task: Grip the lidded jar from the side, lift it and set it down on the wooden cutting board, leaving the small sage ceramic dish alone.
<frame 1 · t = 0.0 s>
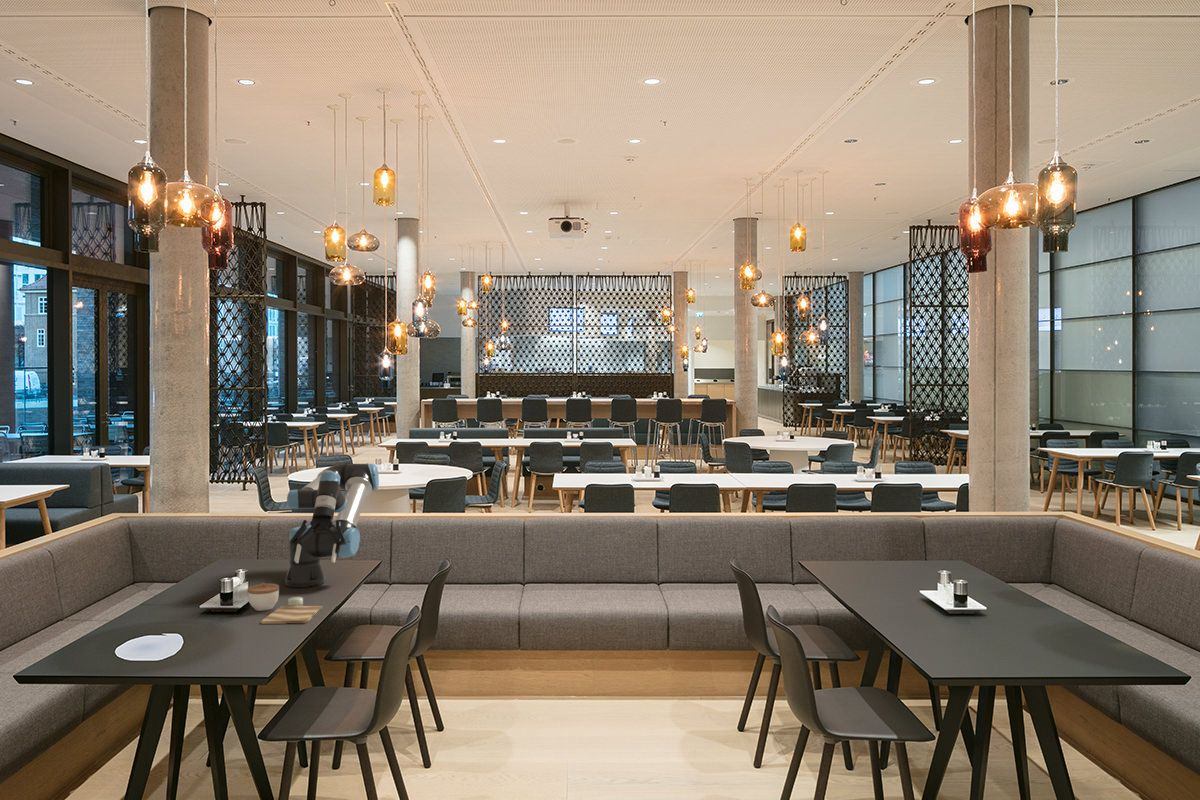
hand: (314, 561, 322), 15 cm above the table, tool tilted 35°, fingers open, 13 cm apart
sage dish: (295, 606, 317), on the table
wooden cutting board: (292, 616, 305), on the table
lidded jar: (263, 608, 315), on the table
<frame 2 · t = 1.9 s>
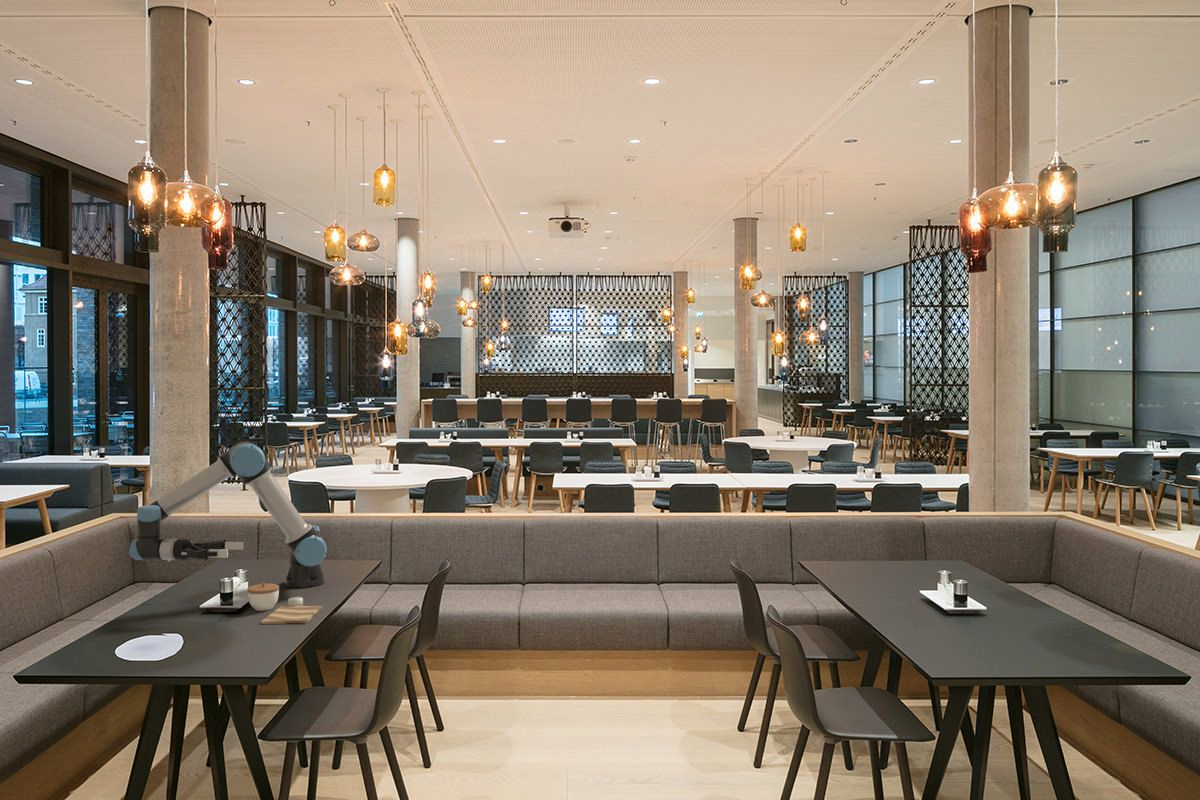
hand: (235, 549, 314), 21 cm above the table, tool horizontal, fingers open, 13 cm apart
nothing on the table moved.
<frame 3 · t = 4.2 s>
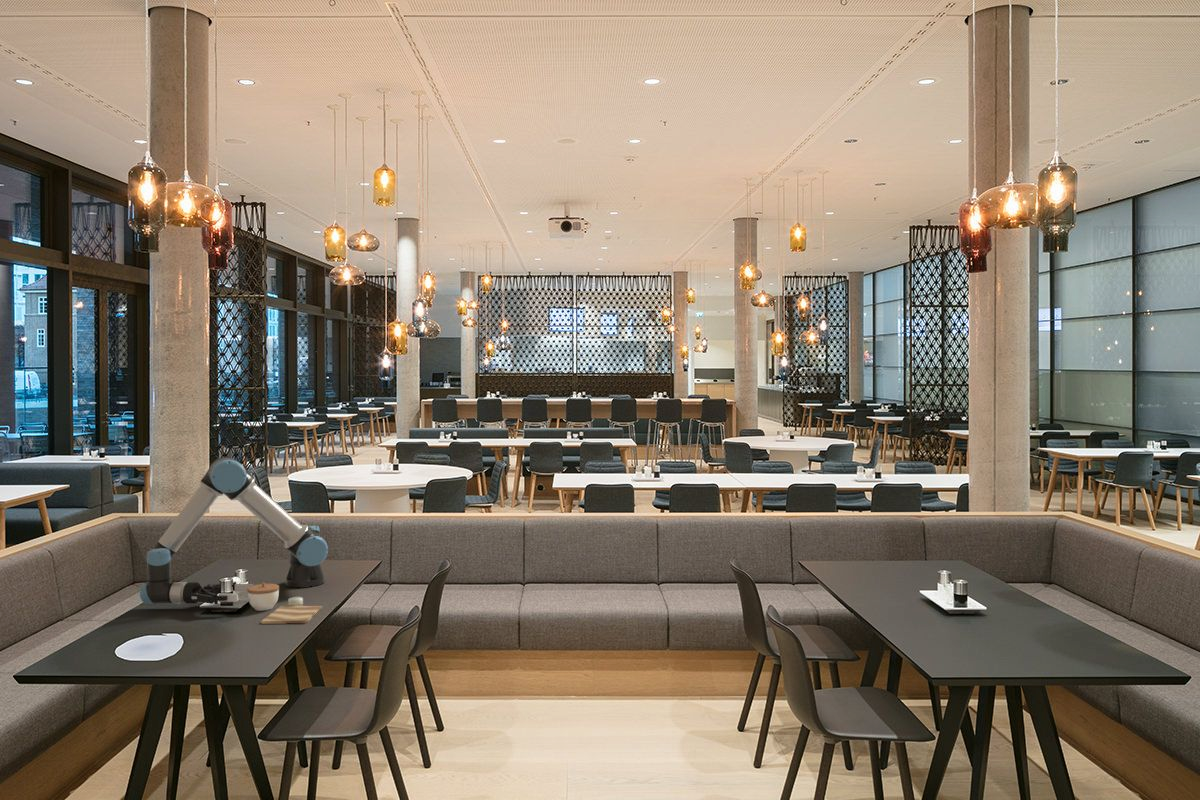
hand: (245, 592, 314), 6 cm above the table, tool horizontal, fingers open, 13 cm apart
nothing on the table moved.
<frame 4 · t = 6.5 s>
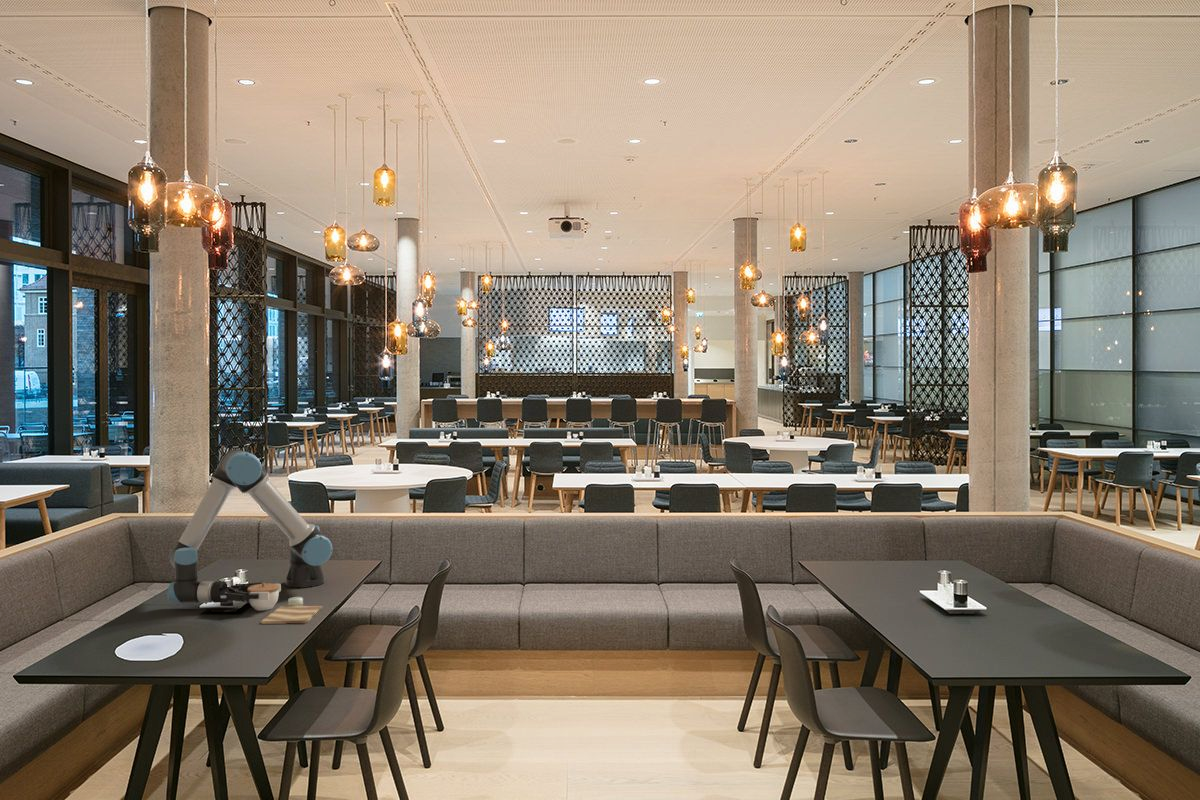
hand: (274, 591, 315), 6 cm above the table, tool horizontal, fingers closed on lidded jar, 11 cm apart
lidded jar: (263, 608, 315), on the table, touching gripper
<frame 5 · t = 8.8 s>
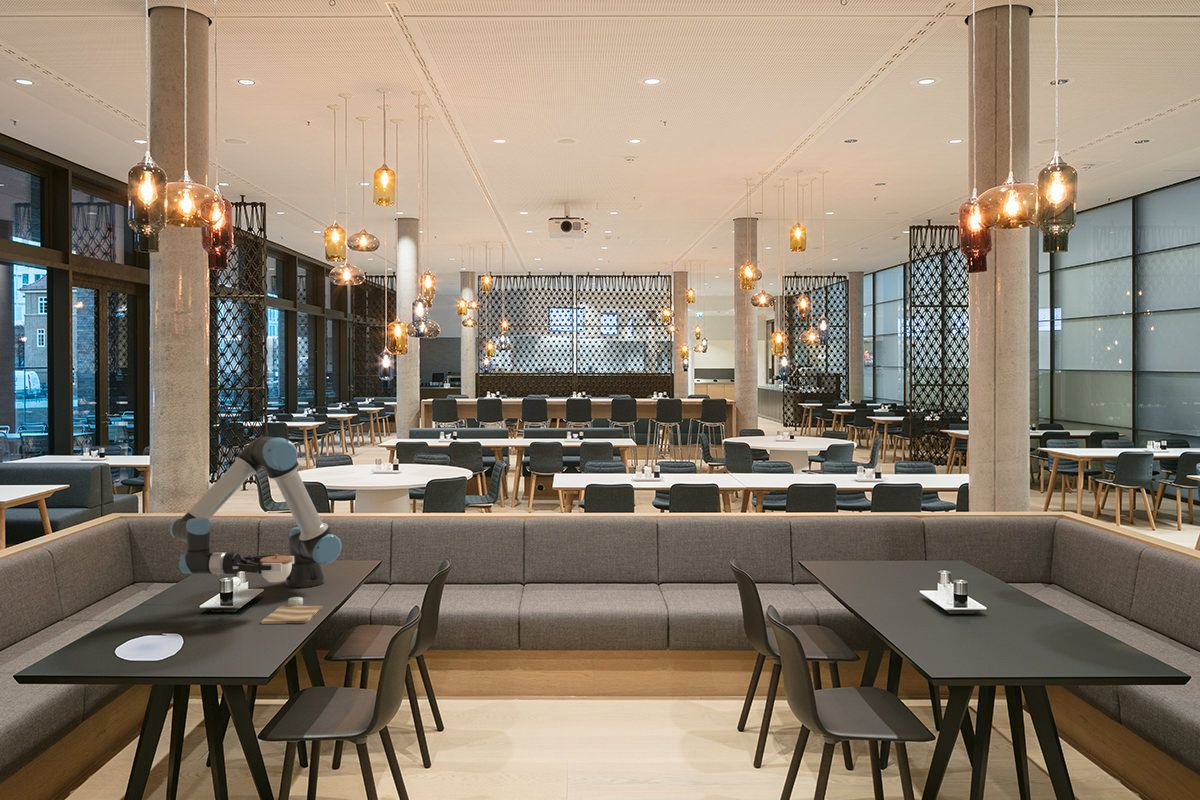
hand: (287, 563, 307), 18 cm above the table, tool horizontal, fingers closed on lidded jar, 11 cm apart
lidded jar: (276, 581, 307), point 12 cm above the table, touching gripper
when the fingers open (8 cm above the table, at t = 11.6 s): lidded jar drops 1 cm, resting on wooden cutting board.
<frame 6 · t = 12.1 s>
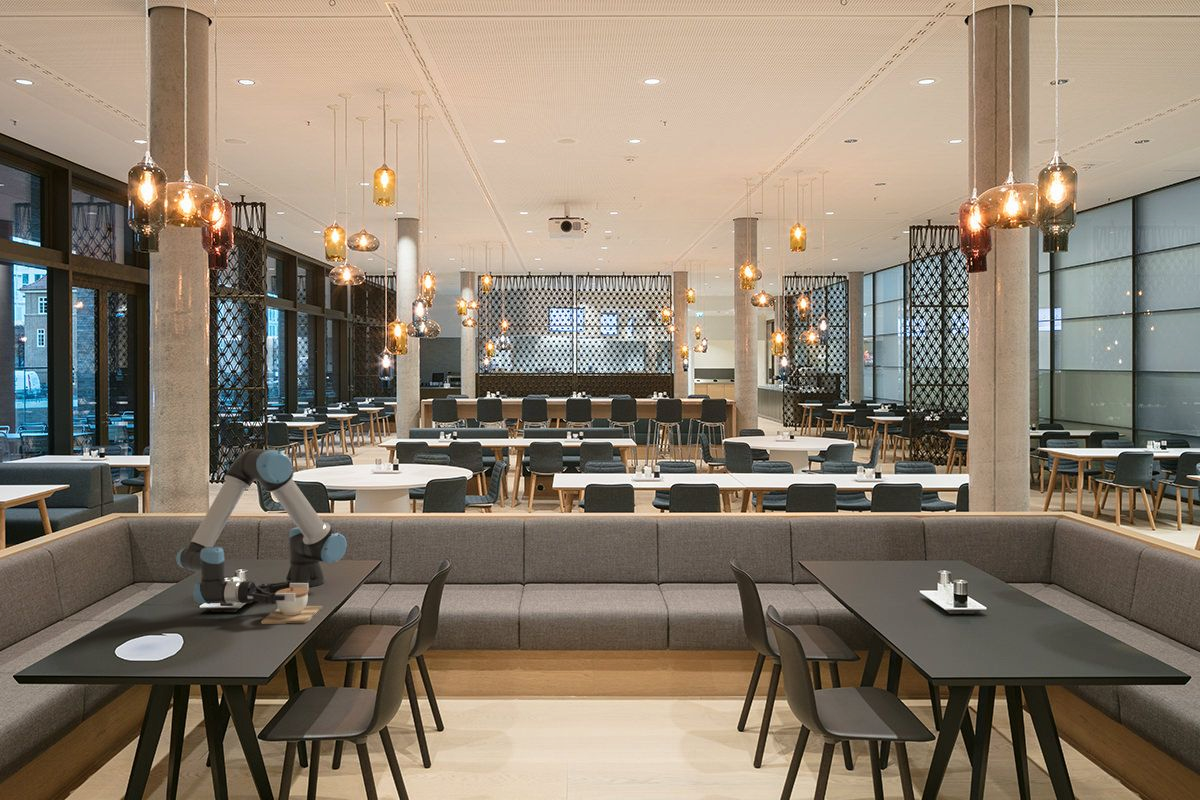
hand: (301, 591, 305), 8 cm above the table, tool horizontal, fingers open, 13 cm apart
lidded jar: (292, 613, 305), point 1 cm above the table, touching wooden cutting board
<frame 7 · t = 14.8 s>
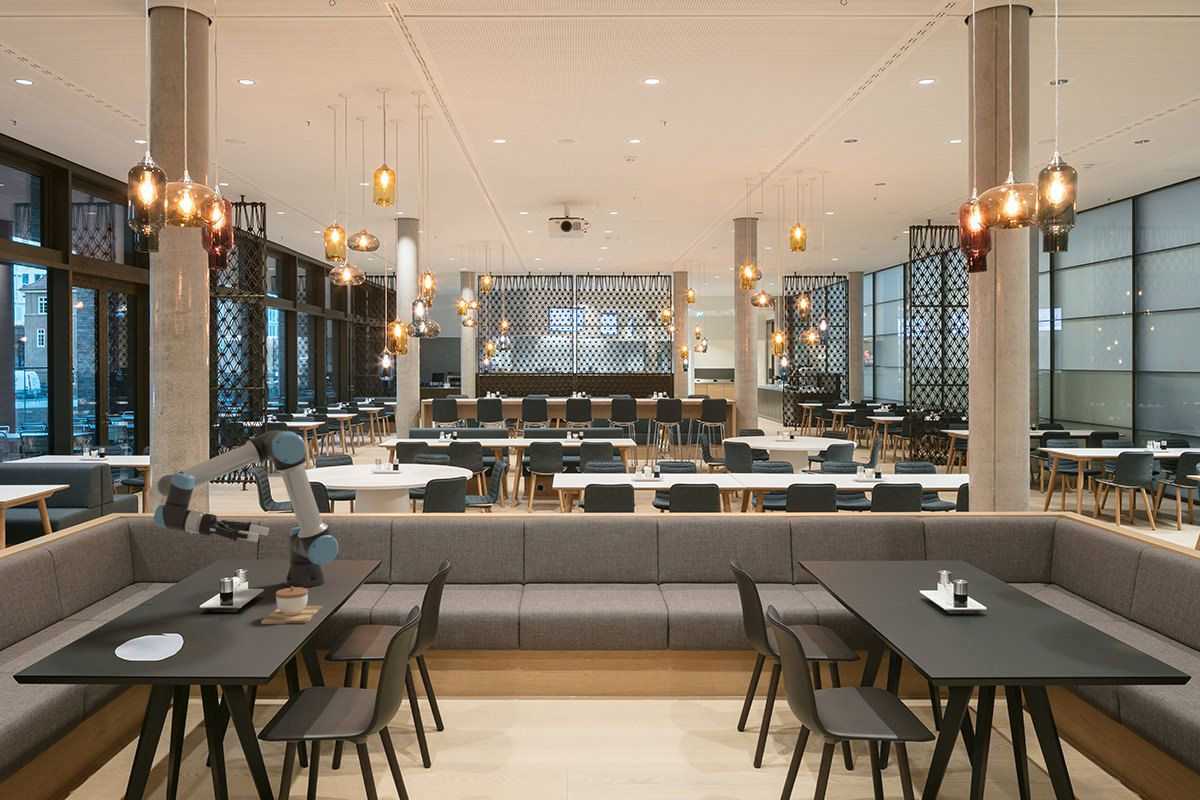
hand: (263, 534, 309), 28 cm above the table, tool horizontal, fingers open, 13 cm apart
nothing on the table moved.
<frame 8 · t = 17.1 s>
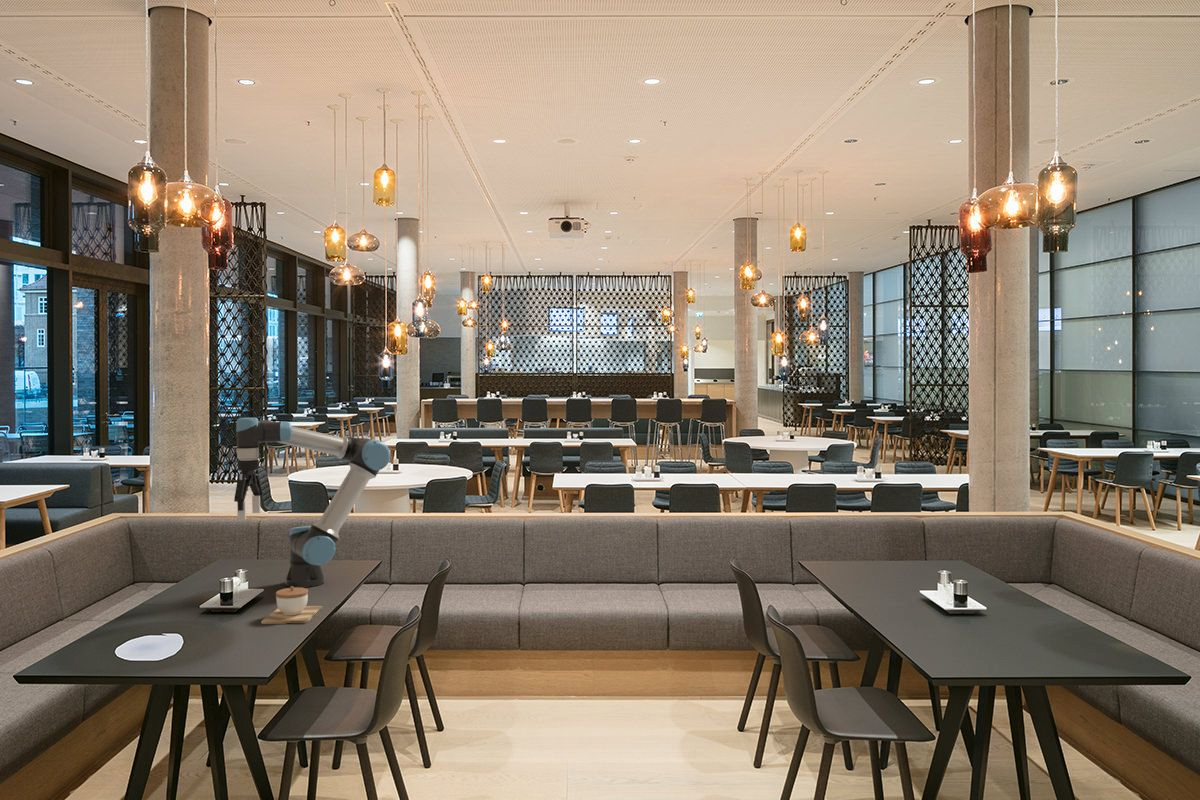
hand: (249, 516, 325), 32 cm above the table, tool pointing down, fingers open, 13 cm apart
nothing on the table moved.
at the end: lidded jar inside the target area on the wooden cutting board (0.1 cm from its centre), point 0.8 cm above the wooden cutting board's base; lidded jar tilted 0°; the gripper is holding nothing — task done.
